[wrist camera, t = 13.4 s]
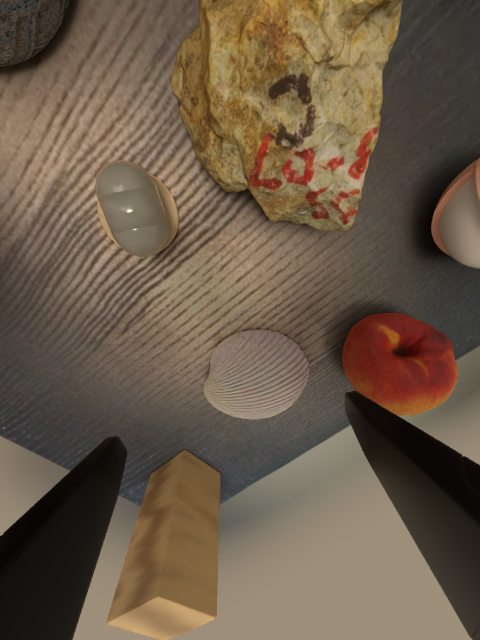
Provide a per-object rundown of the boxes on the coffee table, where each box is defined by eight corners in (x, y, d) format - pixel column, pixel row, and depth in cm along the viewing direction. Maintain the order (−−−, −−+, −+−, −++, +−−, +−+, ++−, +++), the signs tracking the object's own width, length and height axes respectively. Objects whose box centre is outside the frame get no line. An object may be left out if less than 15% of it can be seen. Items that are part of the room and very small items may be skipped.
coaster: (118, 260, 18) (116, 261, 18) (85, 179, 16) (82, 178, 16) (188, 245, 18) (187, 246, 18) (164, 161, 16) (163, 160, 15)
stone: (173, 248, 18) (178, 251, 15) (125, 260, 17) (120, 265, 14) (148, 165, 16) (147, 147, 13) (91, 173, 15) (76, 157, 12)
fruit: (421, 299, 21) (525, 343, 13) (396, 374, 24) (469, 442, 17) (334, 299, 20) (394, 345, 13) (320, 375, 24) (362, 446, 16)
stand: (187, 494, 30) (165, 641, 20) (150, 473, 28) (105, 624, 18) (220, 473, 29) (216, 618, 18) (185, 449, 27) (157, 597, 16)
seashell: (181, 354, 18) (314, 349, 16) (203, 325, 23) (307, 318, 21) (207, 446, 22) (317, 452, 20) (221, 404, 27) (311, 405, 25)
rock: (293, 183, 21) (369, 234, 15) (200, 210, 20) (239, 278, 13) (302, -64, 12) (510, -214, 6) (135, -38, 11) (157, -185, 5)
